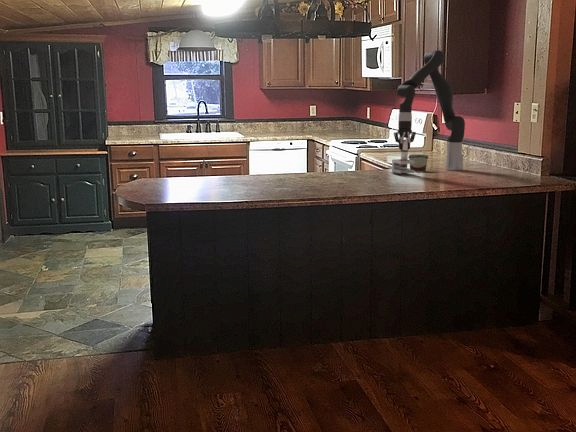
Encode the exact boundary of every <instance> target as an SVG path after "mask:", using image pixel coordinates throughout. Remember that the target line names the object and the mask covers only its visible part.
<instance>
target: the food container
mask: <svg viewBox="0 0 576 432" xmlns="http://www.w3.org/2000/svg"><path fill="white" fill-rule="evenodd" d="M428 159H430V158H429V155H428V154H423V153H421V154H419V153H418V154H416V153H415V154H414V153H413V154H409V155H408V160H413V161H415V163H414V164H409V169H411V170H414V172H427V165H428Z"/></svg>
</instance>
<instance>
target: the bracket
mask: <svg viewBox="0 0 576 432" xmlns="http://www.w3.org/2000/svg"><path fill="white" fill-rule="evenodd" d="M414 163H415V161H413V160H409V159H408V161H401V158H399V159H391V171H390V174H391V173H392V174H391V175H402V174H401V173H407V174H415V171H414V170H411V169H410V168H408V166H407V167H400V165H401V164H407V165H410V164H414Z"/></svg>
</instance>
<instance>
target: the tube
mask: <svg viewBox="0 0 576 432" xmlns="http://www.w3.org/2000/svg"><path fill="white" fill-rule="evenodd" d="M408 153H409V150H408V140H407V139H406V138H404V139H403V141H402V150H400V159H401V161H408V160H409V158H408V157H409V155H408ZM400 167H407V168H408V164H401V165H400Z"/></svg>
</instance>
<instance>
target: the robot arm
mask: <svg viewBox="0 0 576 432" xmlns="http://www.w3.org/2000/svg"><path fill="white" fill-rule="evenodd" d="M445 58H446V57H445V54H444V52H443V51H442V50H440V49H437V50H431V51H427V52H426V53H424V55H423V62H424V65H423V66H421V67H420V68H419V69H417V70H416V71H414V72H413V74H412V75H411V76H410V77H409V78H408V79H407V80H405V81H404V82H402V83H401V84H400V85H399V86H398V87H397V90H396V94H397V96H398V97H399V98H405V99H404V100H403V101H401V102H399V108H398V109H399V113H398V130H397V131H395V132H393V137H394V140H395V143H398V149H399V151H401V150H402V141H403V139H407V140H408V151H409V150H410V149H411V143H413V142H414V140H415V139H416V138H415V137H416V134H417V132H416V131H412V122H413V117H412V114H413V113H412V108H413V107H412V106H413V102H414V98H415V95H416V90H415V89H418V87H419V86H421V85H422V83H423V82H424V81H425V79H427V78H428V76H430V79H431V82H432V85H433V87H434V88H433V89H434V91H435V95H436V97H437V100H438V102H439V106H440V109H441V111H442V118H443V121H444V126H445V127H446V129H447V130H448V131H451V133H450V135H449V136H448V137H447V138H446V156H445V158H446V159H445V160H446V161H445V170H446V171H462V170H463V169H464V168H463V167H464V154H463V140H464V137H465V129H466V122H465V119H464V117H462V116H460V115H456V114H455V111H454V107H453V99H454V94H453V90H452V87H451V84H450V83H449V81H448V80H447V79H446V78H445V77H444V76H443V75H442V74H441V71H439V67H440V66H442V65H443V63H444V62H445Z"/></svg>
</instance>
